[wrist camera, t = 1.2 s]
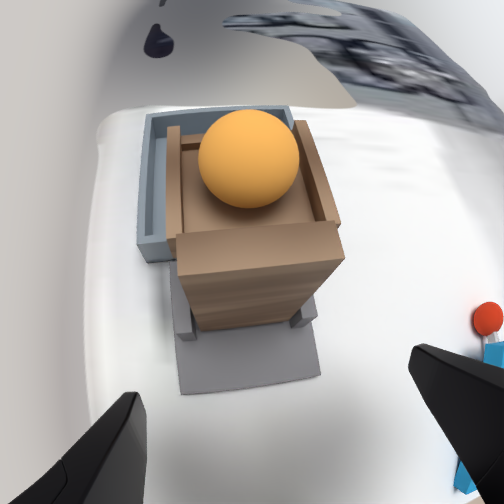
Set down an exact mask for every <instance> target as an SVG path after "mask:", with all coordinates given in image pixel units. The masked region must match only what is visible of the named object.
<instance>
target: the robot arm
mask: <svg viewBox="0 0 504 504" xmlns="http://www.w3.org/2000/svg"><path fill="white" fill-rule="evenodd" d="M408 369H409V372H410V374H411V376H412V378H413V380H414V382H415V384H416V386H417V388H418V390H419V392H420V394H421V396H422V398H423V400H424V401H425V403H426V405H427V407H428V408H429V410H430V411H431V413H432V414H433V416H434V418H435V419H436V421H437V422H438V424H439V425H440V427H441V429H442V430H443V432H444V434H445V435H446V437H447V438H448V440H449V442H450V443H451V445H452V447H453V448H454V450H455V452H456V453H457V455H458V457H459V458H460V460H461V462H462V463H463V465H464V467H465V469H466V470H467V472H468V474H469V475H470V477H471V479H472V481H473V482H474V484H475V486H476V488H477V490H478V492H479V494H480V495H481V497H482V499H483V501H484V502H485V504H504V368H501V367H498V366H494V365H491V364H488V363H484V362H481V361H478V360H475V359H471V358H468V357H465V356H462V355H459V354H455V353H452V352H449V351H446V350H443V349H440V348H437V347H433V346H430V345H427V344H419V345H416V346H414V347H413V349H412V352H411V356H410V360H409V364H408ZM146 463H147V430H146V411H145V408H144V405H143V403H142V400H141V397H140V395H139V393H138V392H125V393H123V395H122V396H121V397H120V398H119V399H118V400H117V401H116V402H115V403H114V404H113V405H112V406H111V407H110V408H109V409H108V410H107V411H106V412H105V413H104V414H103V415H102V416H101V417H100V418H99V419H98V420H97V421H96V422H95V423H94V425H93V426H92V427H91V428H90V429H89V430H88V431H87V432H86V433H85V434H84V435H83V436H82V437H81V438H80V439H79V440H78V441H77V442H76V443H75V444H74V445H73V446H72V447H71V448H70V449H69V450H68V451H67V452H66V453H65V454H64V456H63V457H62V458H61V460H58V461H57V462H56V464H55V465H54V466H53V467H52V468H50V469H49V471H47V473H45V474H44V475H43V476H42V477H41V478H40V479H39V480H37V481H36V482H35V483H34V484H33V485H31V486H30V487H29V488H28V489H26V490H25V491H24V492H23V493H21V494H20V495H19V496H18V497H16V498H15V499H14V500H12V501H11V502H10V503H9V504H143V497H144V485H145V474H146Z"/></svg>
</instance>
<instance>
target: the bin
mask: <svg viewBox="0 0 504 504" xmlns="http://www.w3.org/2000/svg"><path fill="white" fill-rule="evenodd" d="M246 109H252V110H259V111H263V112H266V113H269V114H271V115H273V116H275V117H276V118H278V119H279V120H281V121H282V122H283V123H284V124H285V125H286V126H287V127H288V128H289V130H292V128H293V124H294V120H293V117H292V114H291V111H290V109H289V106H231V107H213V108H199V109H188V110H178V111H169V112H160V113H153V114H146V120H145V128H144V136H143V146H142V156H141V167H140V180H139V195H138V215H137V246H138V248H139V250H140V251H141V253H142V255H143V257H144V258H145V260H146V262H147V263H153V262H163V261H174V260H177V258H173V257H172V254H171V251H170V248H169V245H168V243H167V240H166V149H167V127H171V126H180V131H181V136H183V135H193V134H205V133H206V132H207V130H208V129H209V128H210V127H211V125H212V124H214V123H215V122H216V121H217V120H218V119H220V118H221V117H223V116H225V115H227V114H229V113H231V112H234V111H239V110H246Z"/></svg>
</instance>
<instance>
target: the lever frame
mask: <svg viewBox="0 0 504 504" xmlns="http://www.w3.org/2000/svg"><path fill="white" fill-rule="evenodd" d="M169 265H170V285H171V301H172V314H173V327H174V338H175V348H176V358H177V367H178V376H179V384H180V392H181V395H183V394H196V393H207V392H217V391H226V390H235V389H243V388H250V387H257V386H264V385H270V384H277V383H283V382H288V381H294V380H299V379H304V378H310V377H315V376H319V375H321V372H320V366H319V361H318V355H317V349H316V344H315V339H314V333H313V328H312V323H311V321H312V320H313V319H315V318H316V317H317V316H318V315H317V310H316V305H315V300H314V296H313V295H312V296H311V297H310V298H309V299H308V300H307V301H306V302H305V303H304V305H303V306H302V307H301V308H300V309H299V310H298V311H297V312H296V313H295V314H294V315H293V316H292V317H291V318H290V319H289V320H288V321H284V322H277V323H269V324H262V325H254V326H246V327H238V328H229V329H220V330H210V331H200V328H199V326H198V324H197V321H196V319H195V317H194V314H193V312H192V310H191V307H190V305H189V302H188V300H187V298H186V295H185V293H184V290H183V288H182V285H181V283H180V280H179V278H178V271H177V261H172V262H169Z"/></svg>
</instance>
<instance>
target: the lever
mask: <svg viewBox="0 0 504 504" xmlns="http://www.w3.org/2000/svg"><path fill="white" fill-rule="evenodd" d="M502 324H503V312H502V309H501V308H500V306H499V305H498V304H496V303H494V302H486V303H483V304H481V305H480V306H479V307H478V308H477V310H476V312H475V314H474V326H475V329H476V330H477V332H478V333H479V334H481V335H483V336H487V339H488V344H486V345H485V352H484V360H483V362H484V363H488V364H491V365H494V366H498V367H501V368H504V341H502V342H499V339H498V334H497V332H498V331H499V329H500V328H501V326H502ZM453 486H454V487H456V488H457V489H459V490H460V491H461V492H463V493H464V494H466V495H467V494H469V493H471V492H473V491H475V490H477V488H476V486H475V484H474V482H473V481H472V479H471V477H470V475H469V474H468V472H467V470H466V469H465V467H464V465H463V463H462V462H461V461H460V464H459V467H458V470H457V473H456V476H455V479H454V485H453Z"/></svg>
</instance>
